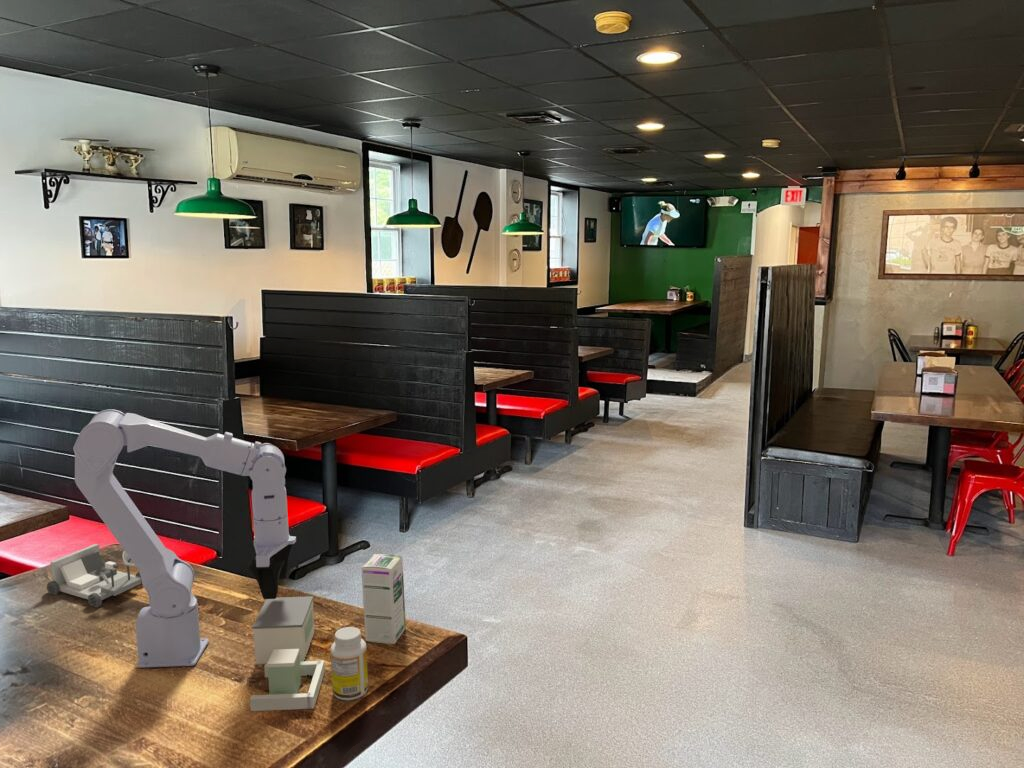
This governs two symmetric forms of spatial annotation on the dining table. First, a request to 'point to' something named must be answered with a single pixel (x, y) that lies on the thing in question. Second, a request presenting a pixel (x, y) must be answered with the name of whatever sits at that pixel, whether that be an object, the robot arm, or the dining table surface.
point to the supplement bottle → (349, 664)
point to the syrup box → (383, 598)
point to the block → (284, 671)
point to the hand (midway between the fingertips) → (275, 587)
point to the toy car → (90, 576)
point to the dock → (292, 699)
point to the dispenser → (283, 627)
